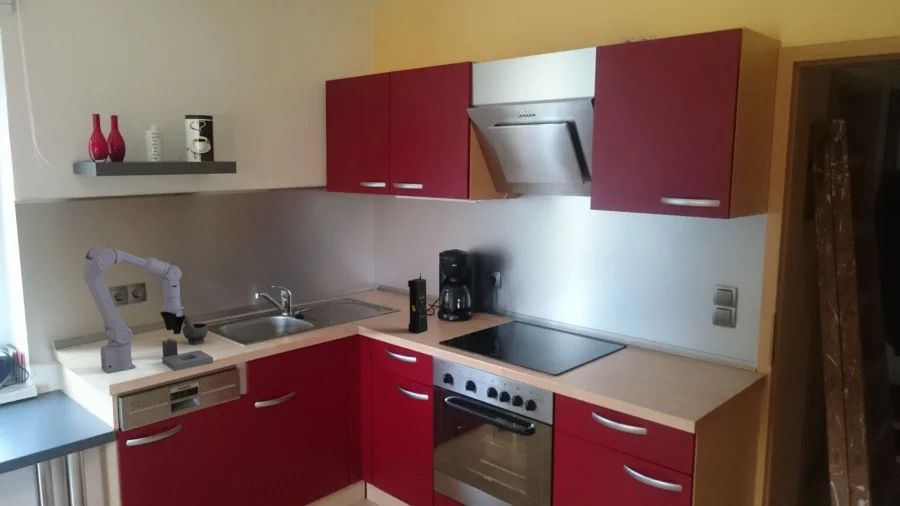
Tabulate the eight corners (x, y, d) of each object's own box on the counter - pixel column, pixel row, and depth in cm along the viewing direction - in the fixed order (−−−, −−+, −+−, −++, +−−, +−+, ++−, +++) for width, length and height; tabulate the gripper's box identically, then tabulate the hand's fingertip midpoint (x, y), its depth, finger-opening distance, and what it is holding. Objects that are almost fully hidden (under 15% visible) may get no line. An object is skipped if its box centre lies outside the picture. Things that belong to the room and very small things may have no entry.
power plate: (174, 370, 232) (173, 364, 232) (162, 362, 241) (161, 356, 241) (213, 362, 242) (212, 356, 241) (200, 355, 250) (199, 349, 250)
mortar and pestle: (196, 338, 274) (194, 310, 272) (213, 340, 270) (212, 312, 269) (175, 345, 264) (173, 316, 262) (193, 347, 260) (192, 318, 258)
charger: (166, 358, 246) (165, 340, 245) (163, 356, 249) (162, 338, 248) (177, 356, 249) (176, 338, 248) (173, 354, 252) (172, 336, 251)
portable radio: (417, 334, 281) (416, 276, 277) (406, 332, 284) (406, 275, 281) (428, 330, 287) (428, 274, 283) (418, 328, 291) (417, 272, 287)
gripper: (189, 298, 244) (191, 333, 246) (175, 292, 254) (177, 326, 256) (170, 300, 239) (172, 337, 241) (156, 294, 250) (158, 329, 252)
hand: (173, 331), depth 248 cm, fingers open, 7 cm apart
